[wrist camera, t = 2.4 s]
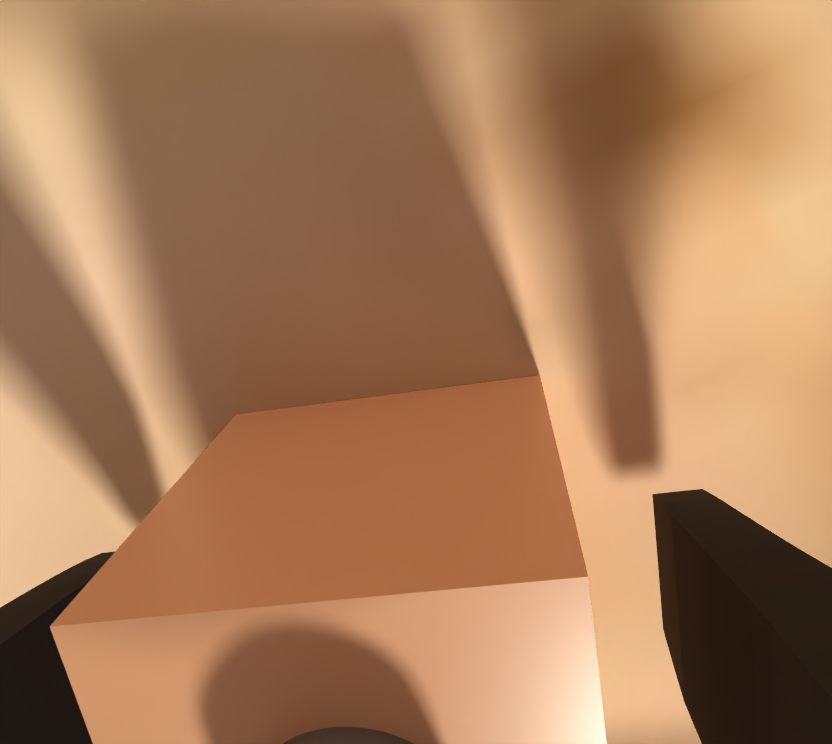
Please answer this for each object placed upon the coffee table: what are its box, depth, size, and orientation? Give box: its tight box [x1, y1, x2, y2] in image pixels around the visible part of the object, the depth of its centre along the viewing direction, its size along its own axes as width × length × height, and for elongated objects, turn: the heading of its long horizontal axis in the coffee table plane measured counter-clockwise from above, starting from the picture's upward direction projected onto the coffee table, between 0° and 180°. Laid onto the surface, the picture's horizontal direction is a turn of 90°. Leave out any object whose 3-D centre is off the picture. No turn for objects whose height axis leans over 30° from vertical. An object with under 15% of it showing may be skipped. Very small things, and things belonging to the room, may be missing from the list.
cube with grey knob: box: [50, 375, 607, 744], centre depth 8 cm, size 4×4×6 cm
